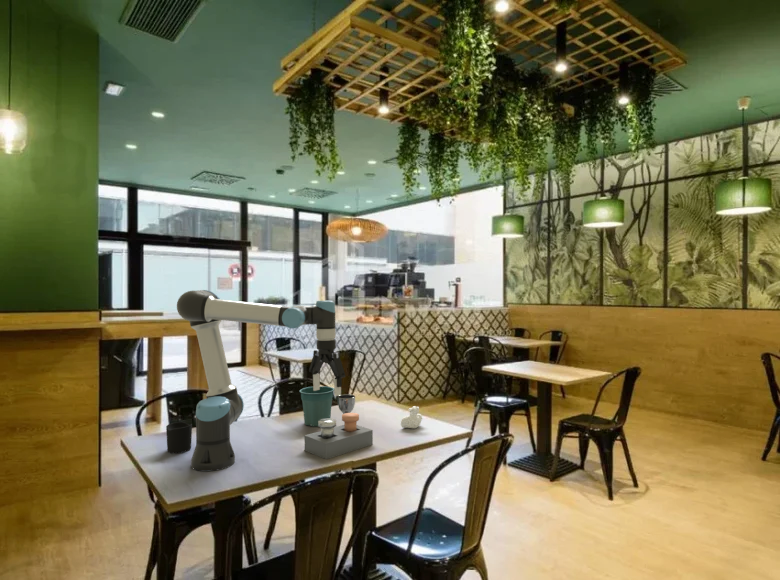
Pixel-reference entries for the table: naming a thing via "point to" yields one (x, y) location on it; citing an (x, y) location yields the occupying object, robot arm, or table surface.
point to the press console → (338, 442)
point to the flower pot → (316, 404)
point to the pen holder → (179, 437)
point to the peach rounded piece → (350, 421)
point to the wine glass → (346, 403)
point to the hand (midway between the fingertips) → (326, 392)
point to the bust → (412, 418)
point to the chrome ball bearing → (327, 427)
